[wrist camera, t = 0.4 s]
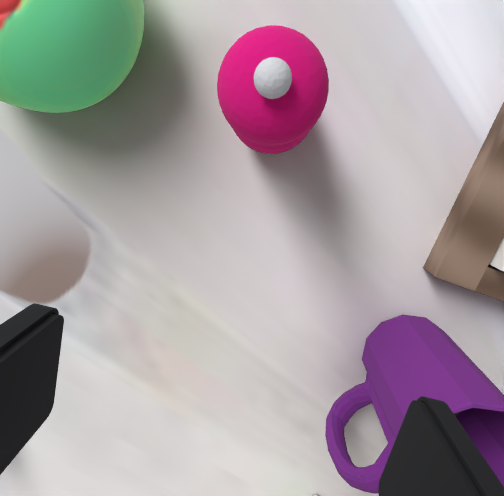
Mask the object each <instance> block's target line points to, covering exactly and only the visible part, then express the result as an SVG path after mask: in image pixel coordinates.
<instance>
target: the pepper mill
mask: <svg viewBox="0 0 504 496" xmlns="http://www.w3.org/2000/svg"><path fill="white" fill-rule="evenodd" d="M328 85H329V80H328V73H327V68H326V65H325V62H324V59H323V57H322V55H321V54H320V52H319V50H318V49H317V47H316V46H315V45H314V44H313V43H312V42H311V41H310V40H309V39H308V38H307V37H306V36H304V35H303V34H301V33H300V32H298V31H296V30H293V29H290V28H287V27H283V26H266V27H260V28H256V29H254V30H252V31H250V32H247V33H246V34H245V35H243V36H242V37H240V38H239V39H238V40H237V41H236V42H235V43H234V45H233V46H232V47H231V48H230V49H229V51H228V52H227V54H226V55H225V57H224V60H223V62H222V64H221V67H220V71H219V74H218V82H217V91H218V99H219V103H220V106H221V109H222V112H223V114H224V116H225V118H226V120H227V121H228V123H229V124H230V125H231V127H232V128H233V129H234V131H235V133H236V135H237V136H238V137H239V138H240V140H241V141H242V142H243V143H244V144H246V145H247V146H248V147H250V148H252V149H254V150H256V151H258V152H262V153H269V154H274V153H281V152H285V151H287V150H289V149H292V148H293V147H295V146H296V145H298V144H299V143H300V142H301V141H302V140H303V139H304V138H305V137H306V135H307V134H308V132H309V131H310V129H311V128H312V127H313V126H314V124H315V123H316V122H317V120H318V119H319V118H320V116H321V114H322V111H323V109H324V107H325V104H326V101H327V96H328Z"/></svg>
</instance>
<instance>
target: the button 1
mask: <svg viewBox="0 0 504 496" xmlns="http://www.w3.org/2000/svg"><path fill="white" fill-rule="evenodd" d="M489 264H490V265H492V266H494V267H496V268H498V269H499V270H501V271H504V237H503V239H502V240H501V242H500V244H499V246H498V248H497V250H496V252H495V254H494V255H493V257H492V259H491V261H490V263H489Z"/></svg>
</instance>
